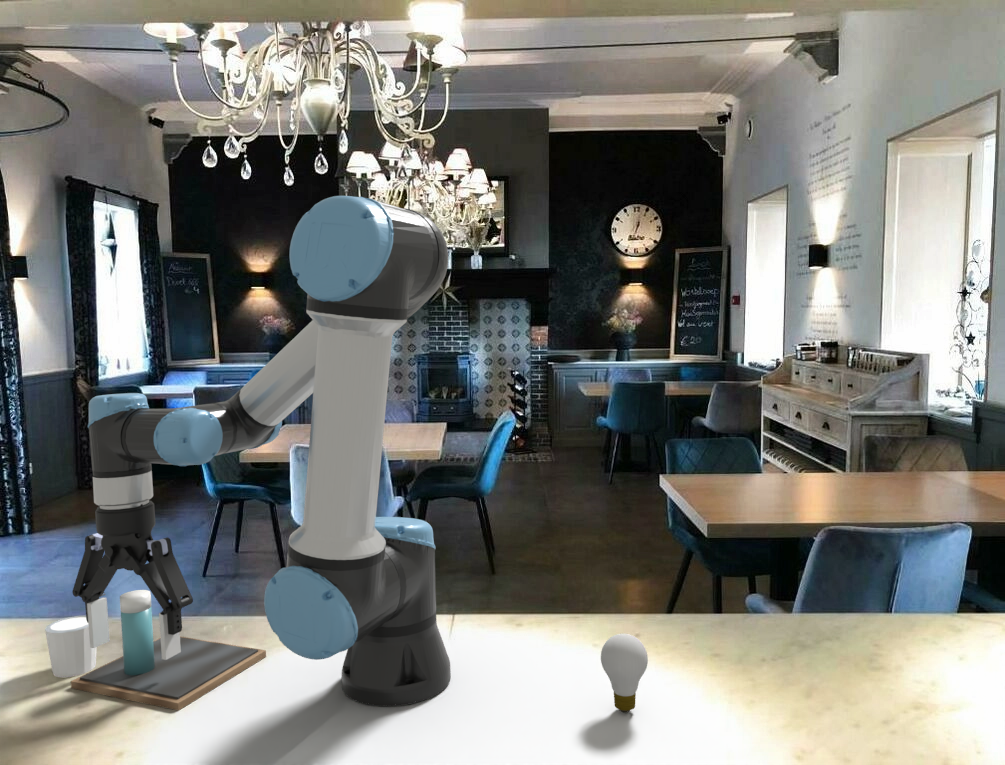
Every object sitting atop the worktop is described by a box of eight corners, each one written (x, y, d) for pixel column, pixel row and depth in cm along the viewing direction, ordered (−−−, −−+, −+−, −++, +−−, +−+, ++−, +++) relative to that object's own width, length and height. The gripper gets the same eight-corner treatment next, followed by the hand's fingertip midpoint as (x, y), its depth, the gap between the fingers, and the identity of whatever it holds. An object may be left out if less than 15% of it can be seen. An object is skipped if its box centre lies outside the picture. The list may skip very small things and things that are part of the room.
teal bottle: (160, 664, 113) (156, 590, 112) (142, 676, 109) (137, 600, 108) (137, 662, 114) (133, 589, 113) (117, 674, 110) (113, 598, 109)
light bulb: (637, 727, 95) (636, 648, 94) (593, 716, 98) (592, 638, 97) (655, 707, 100) (654, 631, 99) (613, 696, 103) (611, 623, 102)
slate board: (266, 656, 118) (265, 648, 118) (178, 710, 102) (178, 700, 102) (167, 640, 125) (167, 632, 125) (71, 688, 109) (70, 679, 109)
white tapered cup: (77, 680, 111) (74, 633, 111) (36, 677, 113) (33, 630, 112) (110, 660, 118) (108, 615, 118) (71, 657, 119) (68, 613, 119)
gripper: (213, 501, 108) (222, 649, 109) (83, 493, 117) (93, 630, 119) (172, 514, 101) (182, 672, 102) (37, 504, 110) (49, 649, 112)
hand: (135, 650), depth 110 cm, fingers open, 13 cm apart
